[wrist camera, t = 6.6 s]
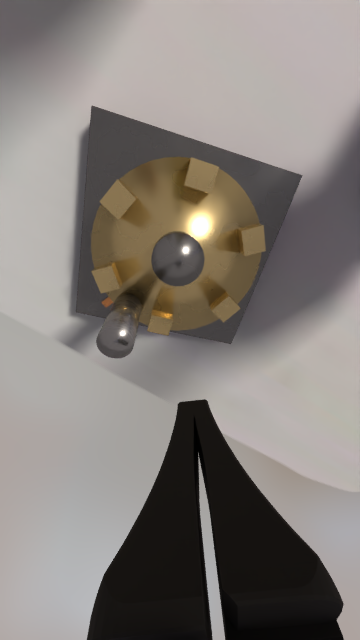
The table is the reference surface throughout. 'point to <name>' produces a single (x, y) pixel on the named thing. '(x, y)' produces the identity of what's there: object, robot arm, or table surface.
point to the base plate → (155, 143)
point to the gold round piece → (173, 249)
